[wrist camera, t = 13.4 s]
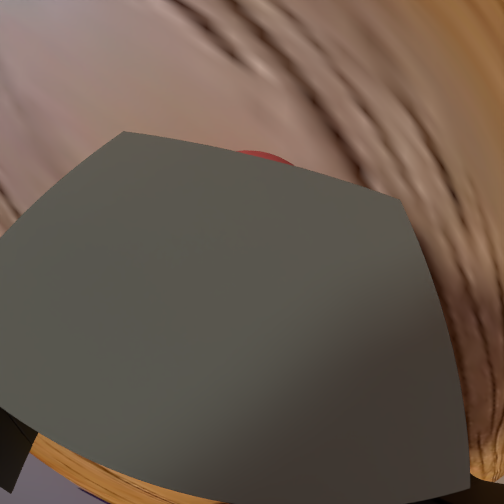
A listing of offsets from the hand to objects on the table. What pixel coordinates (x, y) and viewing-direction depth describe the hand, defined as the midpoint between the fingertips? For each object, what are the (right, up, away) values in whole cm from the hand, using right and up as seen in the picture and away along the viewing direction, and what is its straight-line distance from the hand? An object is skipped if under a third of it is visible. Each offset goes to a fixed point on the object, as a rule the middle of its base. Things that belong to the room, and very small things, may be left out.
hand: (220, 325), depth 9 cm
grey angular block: (0, +2, +1) cm, 2 cm away
